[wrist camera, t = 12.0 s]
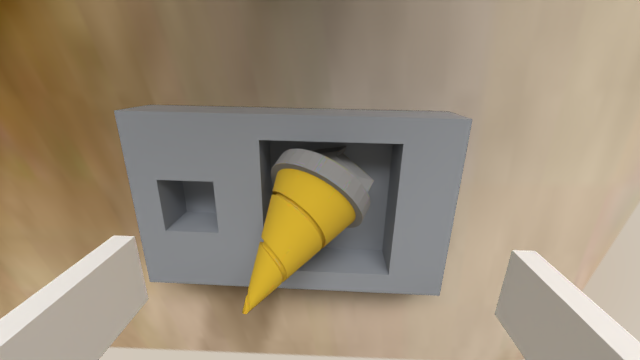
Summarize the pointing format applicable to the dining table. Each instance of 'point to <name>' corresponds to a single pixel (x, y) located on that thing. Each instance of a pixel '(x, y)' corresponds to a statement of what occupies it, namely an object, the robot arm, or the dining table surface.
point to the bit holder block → (257, 185)
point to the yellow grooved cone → (306, 213)
